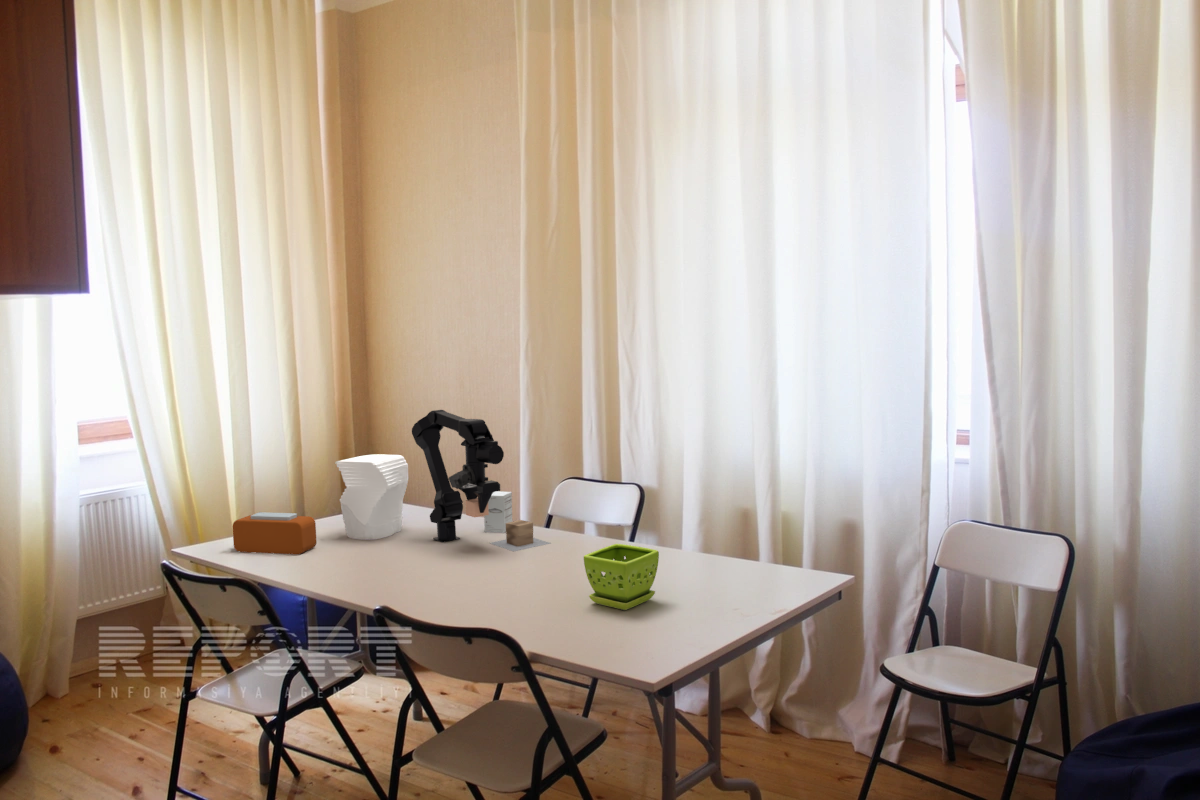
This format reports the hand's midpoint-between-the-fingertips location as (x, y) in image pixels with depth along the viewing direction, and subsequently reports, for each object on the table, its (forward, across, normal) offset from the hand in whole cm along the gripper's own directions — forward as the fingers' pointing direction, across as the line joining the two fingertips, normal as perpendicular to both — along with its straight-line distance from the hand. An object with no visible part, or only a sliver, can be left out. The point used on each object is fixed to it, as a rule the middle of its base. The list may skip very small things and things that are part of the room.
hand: (477, 511), depth 284 cm
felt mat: (+11, +5, +12) cm, 17 cm away
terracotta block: (+1, 0, 0) cm, 1 cm away
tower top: (+8, +5, +12) cm, 15 cm away
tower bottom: (+11, +5, +12) cm, 17 cm away
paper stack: (+12, -39, -13) cm, 43 cm away
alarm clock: (+12, -43, -47) cm, 65 cm away
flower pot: (+12, +71, -2) cm, 72 cm away
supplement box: (+12, -15, +17) cm, 26 cm away
